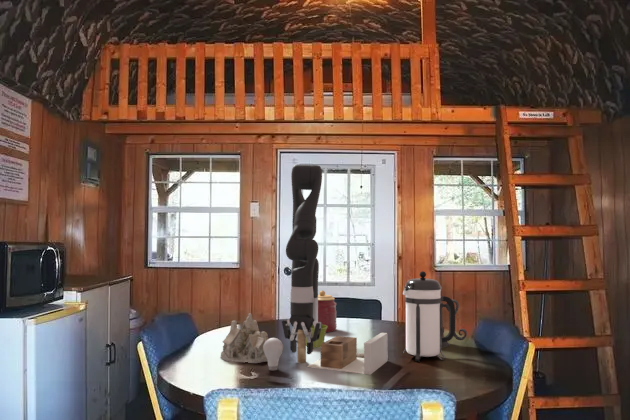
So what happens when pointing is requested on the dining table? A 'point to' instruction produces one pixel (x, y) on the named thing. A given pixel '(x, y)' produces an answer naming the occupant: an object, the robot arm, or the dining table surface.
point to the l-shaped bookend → (365, 357)
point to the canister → (327, 311)
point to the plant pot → (321, 337)
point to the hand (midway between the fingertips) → (301, 352)
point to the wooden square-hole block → (338, 352)
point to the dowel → (301, 347)
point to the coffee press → (425, 317)
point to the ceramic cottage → (245, 343)
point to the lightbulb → (273, 352)
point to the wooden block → (360, 355)
